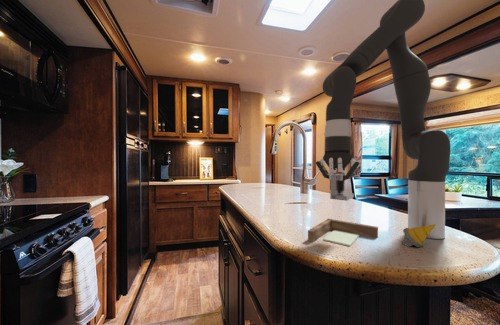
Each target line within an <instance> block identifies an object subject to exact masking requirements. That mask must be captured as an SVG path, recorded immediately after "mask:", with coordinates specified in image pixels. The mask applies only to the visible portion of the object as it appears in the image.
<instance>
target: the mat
mask: <svg viewBox="0 0 500 325" xmlns="http://www.w3.org/2000/svg"><path fill="white" fill-rule="evenodd" d="M359 237H360V235H359V234H354V233H349V232H344V231H339V230H334V229H333V230H332V231H331V232H330V233H328V234H327V235H326V236H325V237H323V238H322V241H326V242H329V243H333V244H338V245H342V246H343V245H344V246H347V247H352V245H353V244H354V243H355V242H356V240H357V239H358V238H359Z"/></svg>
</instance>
